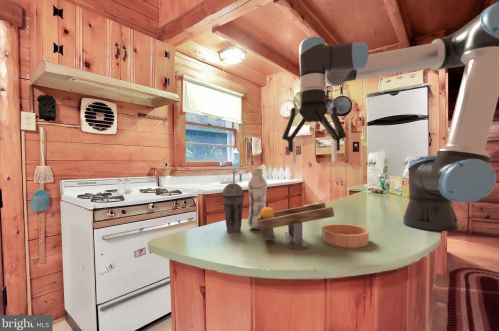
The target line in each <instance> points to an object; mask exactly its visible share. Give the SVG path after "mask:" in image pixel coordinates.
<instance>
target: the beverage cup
mask: <svg viewBox="0 0 499 331" xmlns="http://www.w3.org/2000/svg"><path fill="white" fill-rule="evenodd" d="M235 174H236V170H235V169H233V170H232V175H233V176H232V182H231V183H228V184H226V186H225V187H224V188H223V190H222V195H221V196H222V201H223V204H224V206H223V207H224V216H225V226H226V231H227V232H228V233H238V232H241V230H242V229H241V228H242V220H243V208H244V206H243V204H244V200H245V199H244V198H245V193H244V189H243V187H242V186H241V185H240V184H238V183H236V182H235V180H236V179H235V178H236V177H235V176H236V175H235Z"/></svg>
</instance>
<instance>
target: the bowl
mask: <svg viewBox="0 0 499 331" xmlns="http://www.w3.org/2000/svg"><path fill="white" fill-rule="evenodd" d="M321 238H322V241H323V243H326V244H327V245H331V246H333V247H339V248H343V249H344V248H345V249H357V248H364V247H367V246H368V245H369V241H370V230H369V229H367V228H365V227H362V226H360V225H355V224H346V223H331V224H325V225H323V226H322V227H321Z"/></svg>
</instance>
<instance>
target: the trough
mask: <svg viewBox="0 0 499 331" xmlns="http://www.w3.org/2000/svg"><path fill="white" fill-rule="evenodd" d="M334 212H335V211H334V208H333V206H328V207H326V203H325V201H323V202H316V203H310V204H304V205H303V206H299V207H298V206H297V207H292V208H288V209H281V210H276V211H274V218H269V219H264V220H262V218H261V216H260V213H259V214H257V216H258V223H259V228H260V229H259V231H261V232H262V237H263V238H262V239H263V241H264V242H265V241H269V240H274V239H276V237H275V231H274V229H275V228H281V227H286V226H288V225H292V224H294V222H302V223H307V222H311V221H316V220H317V221H318V220H324V219H327V218H332V217H335V213H334Z"/></svg>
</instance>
